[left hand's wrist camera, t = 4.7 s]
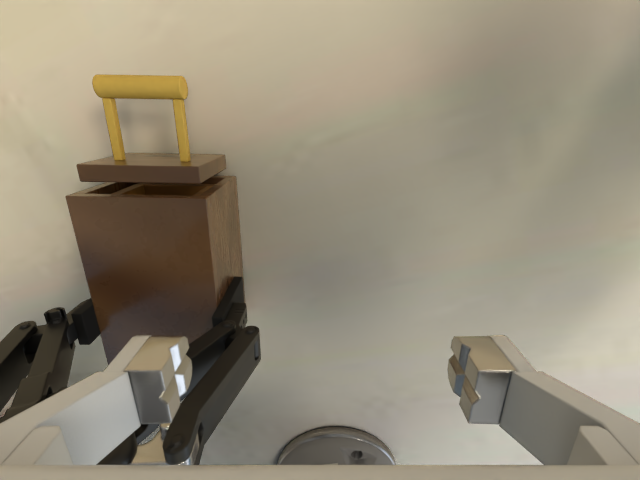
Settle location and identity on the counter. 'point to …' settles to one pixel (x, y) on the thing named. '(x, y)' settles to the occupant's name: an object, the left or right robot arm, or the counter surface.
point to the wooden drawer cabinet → (157, 258)
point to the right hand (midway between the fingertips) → (183, 288)
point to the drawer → (150, 168)
